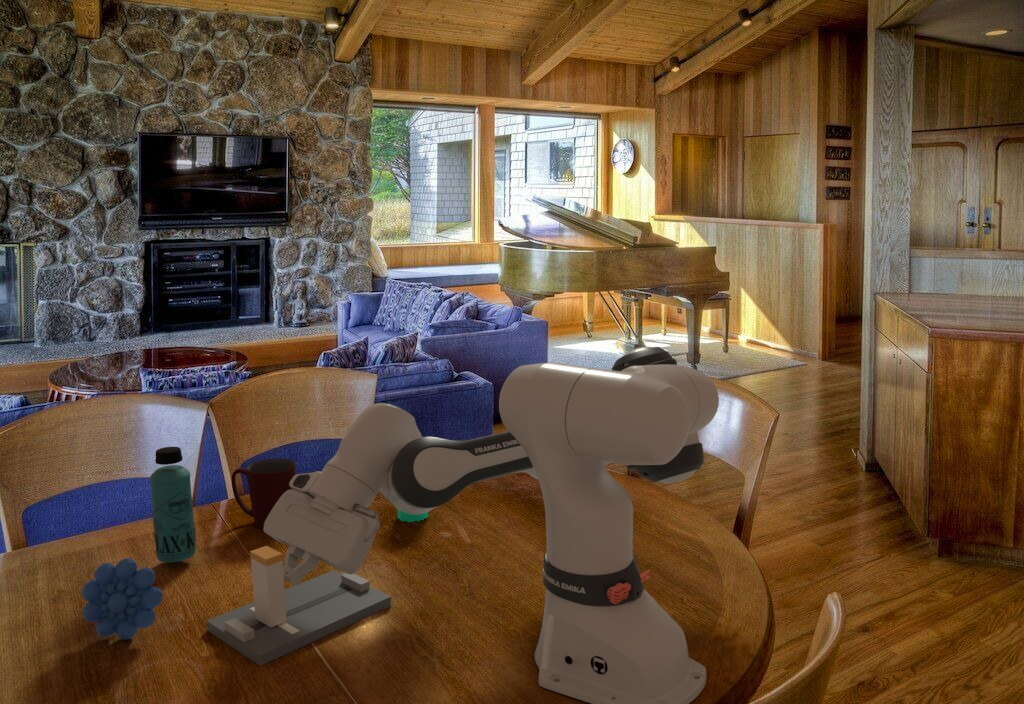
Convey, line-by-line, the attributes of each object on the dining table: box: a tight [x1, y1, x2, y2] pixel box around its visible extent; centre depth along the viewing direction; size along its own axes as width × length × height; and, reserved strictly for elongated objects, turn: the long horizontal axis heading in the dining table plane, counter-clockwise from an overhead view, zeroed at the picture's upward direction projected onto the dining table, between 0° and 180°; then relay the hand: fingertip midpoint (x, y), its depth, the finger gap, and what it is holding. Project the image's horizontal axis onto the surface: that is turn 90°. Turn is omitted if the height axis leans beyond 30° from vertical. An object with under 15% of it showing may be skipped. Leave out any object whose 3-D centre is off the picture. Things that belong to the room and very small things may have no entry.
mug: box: [231, 457, 297, 529], centre depth 160 cm, size 12×9×11 cm
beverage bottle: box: [149, 446, 197, 563], centre depth 142 cm, size 6×7×20 cm
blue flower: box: [80, 557, 163, 641], centre depth 119 cm, size 12×7×12 cm, turn 86°
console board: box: [206, 569, 392, 667], centre depth 124 cm, size 14×22×3 cm, turn 138°
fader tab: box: [249, 545, 286, 628], centre depth 119 cm, size 4×3×10 cm, turn 48°
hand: (287, 581), depth 122 cm, fingers closed
